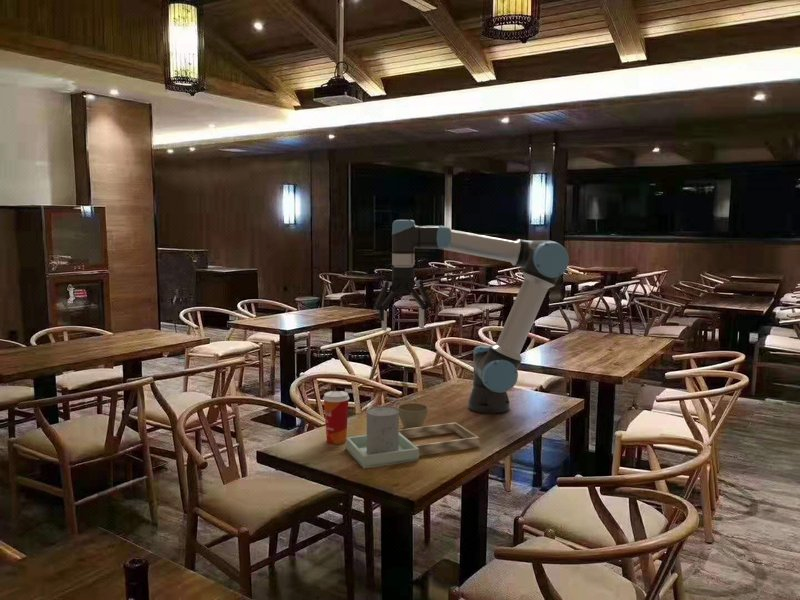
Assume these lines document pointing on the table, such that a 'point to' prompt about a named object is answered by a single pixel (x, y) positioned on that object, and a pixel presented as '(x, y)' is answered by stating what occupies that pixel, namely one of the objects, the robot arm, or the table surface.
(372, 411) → the speckled stone pillar
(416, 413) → the flower pot
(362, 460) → the bin
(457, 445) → the corral
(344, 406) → the coffee cup
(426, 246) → the robot arm
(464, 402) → the table surface
